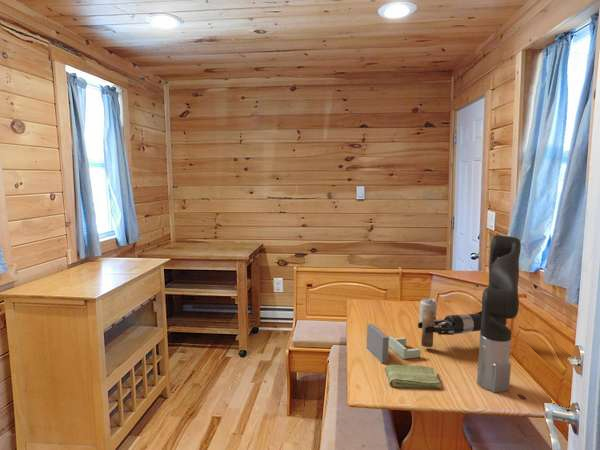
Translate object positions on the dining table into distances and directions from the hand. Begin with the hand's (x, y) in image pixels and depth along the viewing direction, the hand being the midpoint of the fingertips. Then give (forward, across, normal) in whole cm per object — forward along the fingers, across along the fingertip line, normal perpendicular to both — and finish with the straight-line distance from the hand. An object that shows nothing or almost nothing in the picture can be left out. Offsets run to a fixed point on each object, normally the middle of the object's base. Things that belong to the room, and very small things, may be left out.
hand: (421, 327), depth 165 cm
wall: (+19, 0, +9) cm, 22 cm away
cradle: (+8, 0, +9) cm, 12 cm away
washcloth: (+16, +20, +10) cm, 27 cm away
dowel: (-3, 0, +8) cm, 8 cm away
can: (-19, -25, +10) cm, 33 cm away
